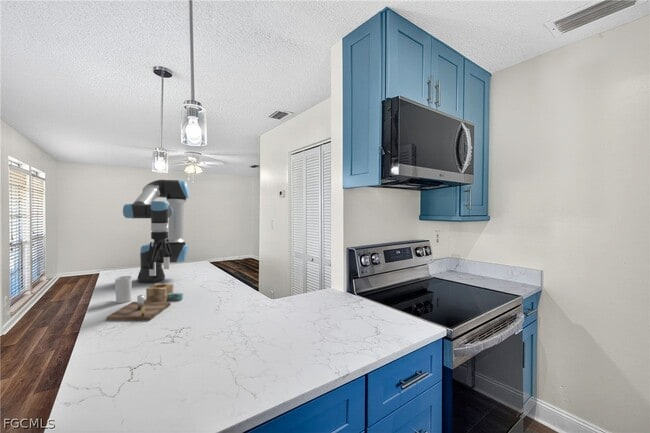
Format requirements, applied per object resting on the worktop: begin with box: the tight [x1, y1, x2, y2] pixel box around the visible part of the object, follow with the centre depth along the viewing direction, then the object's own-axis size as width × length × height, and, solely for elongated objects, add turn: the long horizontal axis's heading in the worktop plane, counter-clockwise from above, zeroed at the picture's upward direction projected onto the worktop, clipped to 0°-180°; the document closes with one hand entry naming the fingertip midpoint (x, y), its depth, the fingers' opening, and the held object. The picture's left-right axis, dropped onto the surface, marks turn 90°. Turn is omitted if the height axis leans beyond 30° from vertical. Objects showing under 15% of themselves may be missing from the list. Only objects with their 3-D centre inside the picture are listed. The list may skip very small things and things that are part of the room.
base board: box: [105, 301, 172, 321], centre depth 131 cm, size 18×18×2 cm
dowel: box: [141, 307, 145, 316], centre depth 123 cm, size 1×1×4 cm
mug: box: [114, 275, 133, 304], centre depth 144 cm, size 10×7×12 cm, turn 66°
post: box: [136, 294, 145, 310], centre depth 130 cm, size 2×2×6 cm
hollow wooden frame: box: [145, 283, 184, 302], centre depth 148 cm, size 16×9×7 cm, turn 93°
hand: (159, 272), depth 147 cm, fingers open, 13 cm apart
